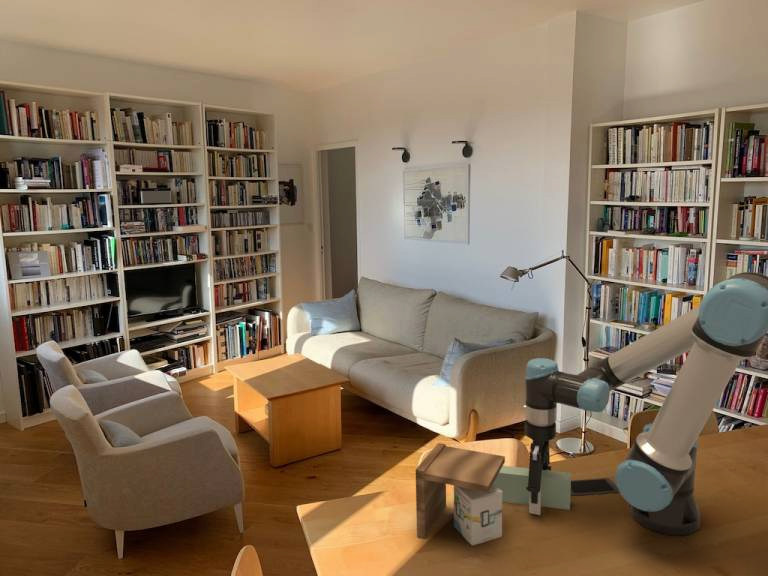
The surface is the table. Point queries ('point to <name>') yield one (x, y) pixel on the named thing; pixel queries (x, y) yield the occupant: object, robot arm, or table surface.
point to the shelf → (450, 479)
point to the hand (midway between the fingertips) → (538, 503)
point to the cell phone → (592, 487)
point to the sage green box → (552, 487)
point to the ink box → (478, 514)
